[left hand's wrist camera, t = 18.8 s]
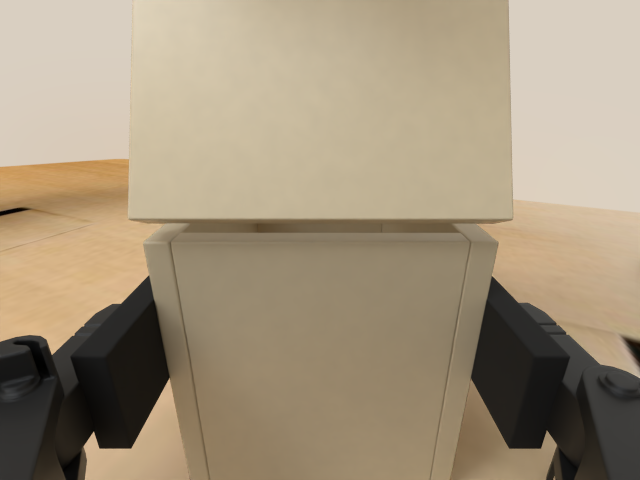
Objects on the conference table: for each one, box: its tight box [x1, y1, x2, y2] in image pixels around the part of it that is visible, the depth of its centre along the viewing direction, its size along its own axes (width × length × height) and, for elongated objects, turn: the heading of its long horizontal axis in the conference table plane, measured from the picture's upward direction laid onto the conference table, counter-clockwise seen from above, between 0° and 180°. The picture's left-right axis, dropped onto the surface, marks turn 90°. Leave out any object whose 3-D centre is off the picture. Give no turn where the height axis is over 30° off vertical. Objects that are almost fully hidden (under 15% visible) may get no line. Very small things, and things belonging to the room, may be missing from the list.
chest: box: [143, 223, 498, 480], centre depth 17 cm, size 13×9×10 cm
